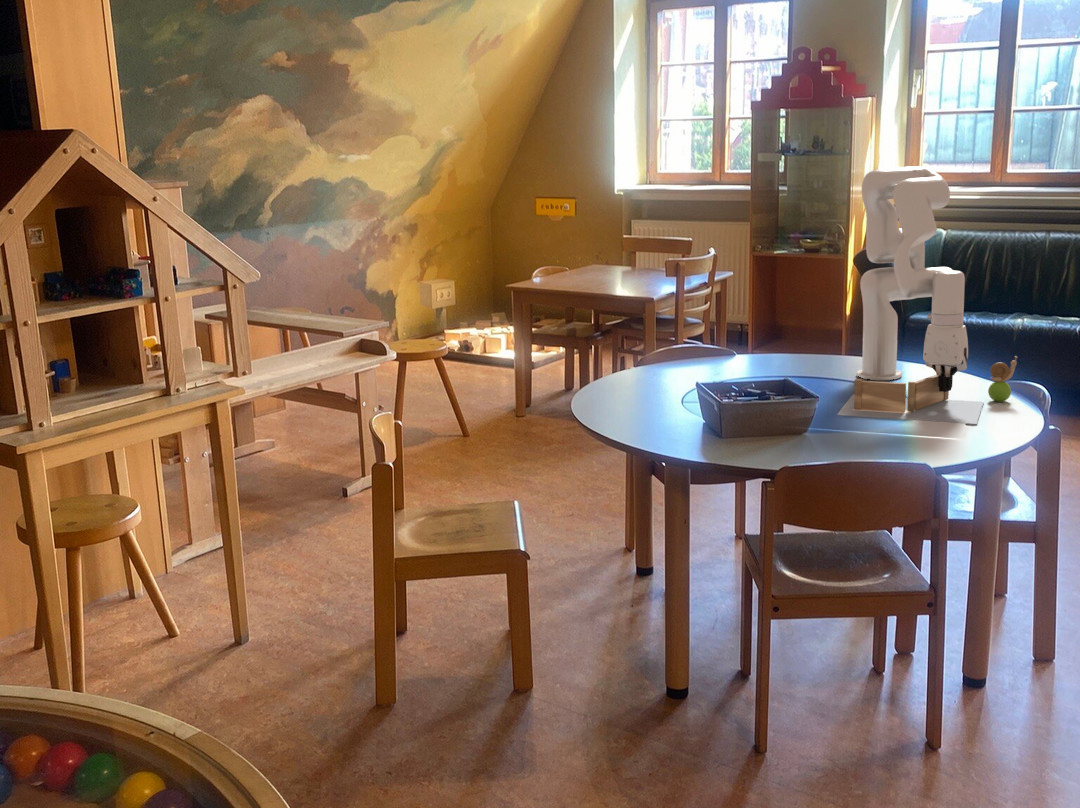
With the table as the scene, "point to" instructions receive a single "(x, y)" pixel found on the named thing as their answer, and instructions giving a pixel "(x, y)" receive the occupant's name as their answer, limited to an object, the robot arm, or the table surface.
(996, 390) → the snail figurine
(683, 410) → the table surface
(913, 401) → the hinged fence panel
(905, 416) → the card
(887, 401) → the fixed fence section
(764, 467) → the table surface
